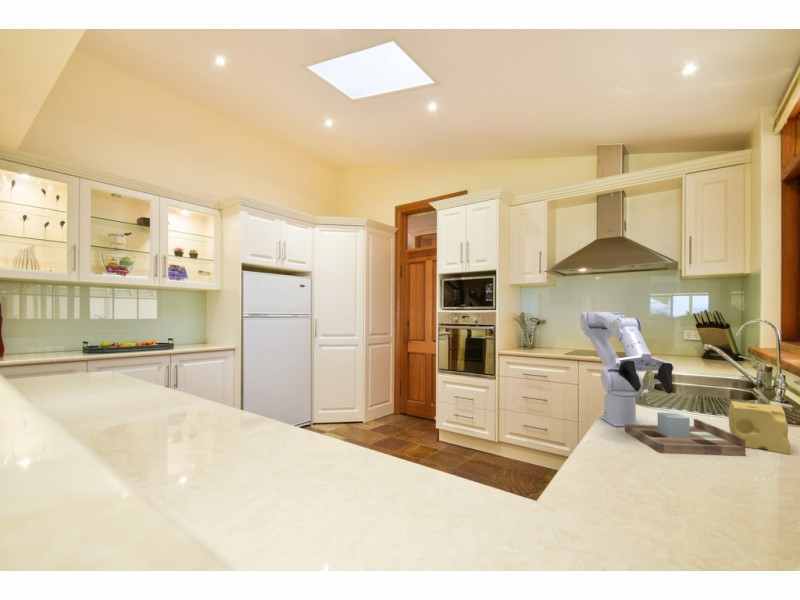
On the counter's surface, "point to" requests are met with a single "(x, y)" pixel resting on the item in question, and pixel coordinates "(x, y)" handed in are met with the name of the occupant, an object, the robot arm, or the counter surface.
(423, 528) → the counter surface
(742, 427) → the cheese
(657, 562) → the counter surface
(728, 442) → the board
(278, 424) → the counter surface
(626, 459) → the counter surface
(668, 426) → the blue block
